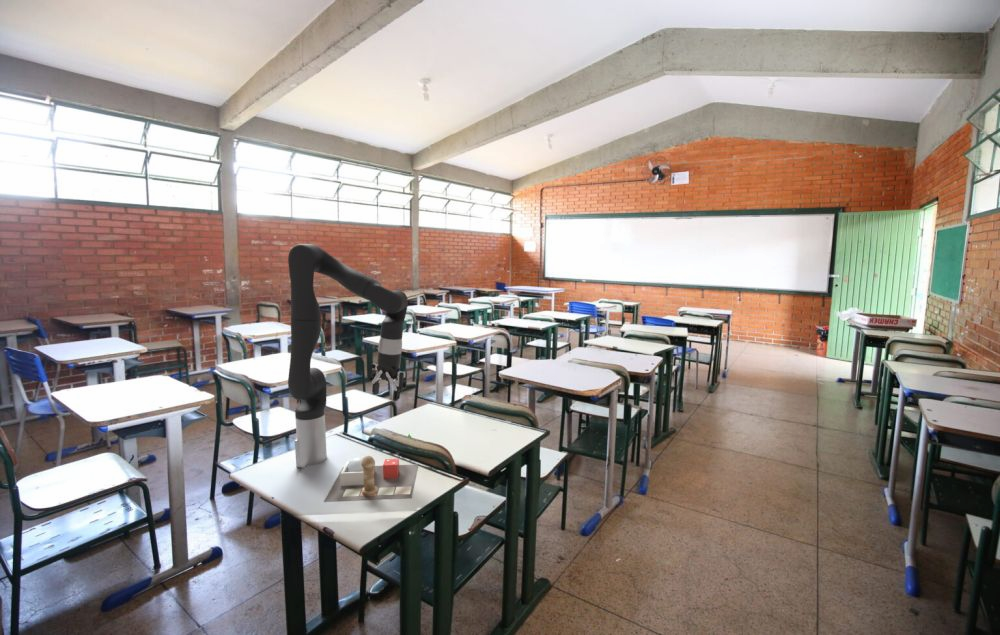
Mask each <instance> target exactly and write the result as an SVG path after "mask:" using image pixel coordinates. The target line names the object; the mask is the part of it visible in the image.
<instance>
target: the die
mask: <svg viewBox="0 0 1000 635" xmlns="http://www.w3.org/2000/svg"><path fill="white" fill-rule="evenodd" d="M399 465H400V458H385V459H384V461H383V464H382V466H383V479H384V478H398V474H399Z"/></svg>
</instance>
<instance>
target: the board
mask: <svg viewBox="0 0 1000 635" xmlns="http://www.w3.org/2000/svg"><path fill="white" fill-rule="evenodd" d="M343 468H344V466H343V467H342V468H341V470H340V471H339V473H338V476H337V477H336V479H335V481H334V482H333V484H332V486H331V488H330V490H329V492H328V494H326V497H325V499H324V500H323V502H324V503H326V502H327V503H328V502H329V503H330V502H331V503H332V502H351V501H352V502H353V501H355V502H356V501H358V502H359V501H378V500H379V501H380V500H402V499H413V494H414V487H415V483H416V478H417V473H418V468H419V464H399V474H398V478H384V479H383V465H375V474H374V485H375V486H376V487H377V492H376V493H375V494H372V495H363V494H362V489H363V488H364V485H349V486H341V475H340V473H341V472H342V470H343Z"/></svg>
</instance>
